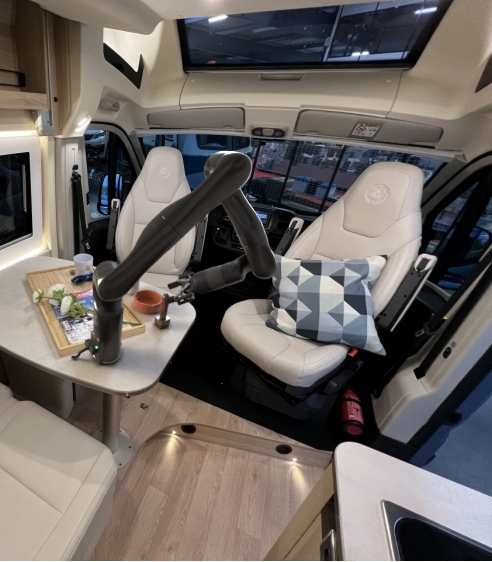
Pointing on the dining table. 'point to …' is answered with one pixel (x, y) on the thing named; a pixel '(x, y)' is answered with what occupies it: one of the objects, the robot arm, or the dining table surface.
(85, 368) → the dining table surface
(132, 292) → the beverage can
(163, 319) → the brown mallet
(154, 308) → the bowl
